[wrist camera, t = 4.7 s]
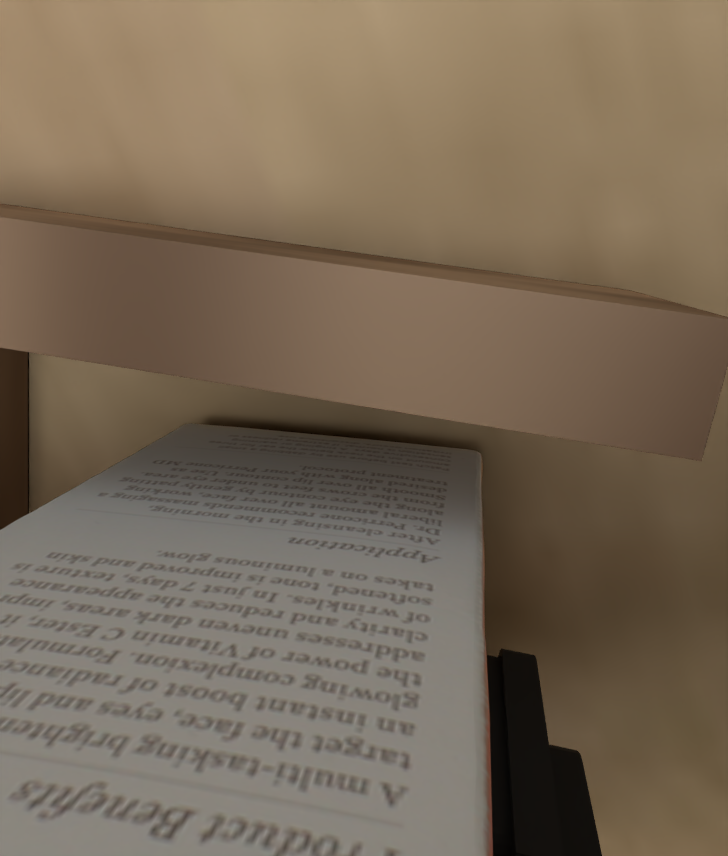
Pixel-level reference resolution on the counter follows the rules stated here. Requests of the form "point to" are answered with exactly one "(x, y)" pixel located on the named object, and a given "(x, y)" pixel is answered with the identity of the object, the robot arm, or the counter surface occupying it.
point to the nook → (349, 334)
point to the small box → (249, 653)
